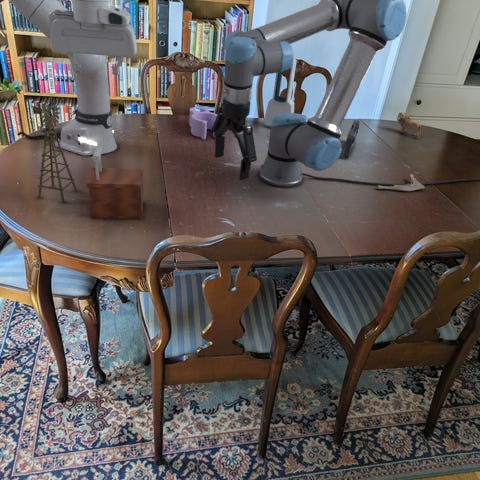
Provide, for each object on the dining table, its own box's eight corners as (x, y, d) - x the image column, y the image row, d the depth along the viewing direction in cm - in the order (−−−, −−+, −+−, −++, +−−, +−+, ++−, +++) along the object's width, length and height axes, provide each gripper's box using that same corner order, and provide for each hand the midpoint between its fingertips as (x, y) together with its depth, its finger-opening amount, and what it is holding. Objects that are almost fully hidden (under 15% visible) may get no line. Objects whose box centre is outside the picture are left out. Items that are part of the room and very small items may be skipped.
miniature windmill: (63, 202, 138) (50, 102, 122) (36, 197, 139) (20, 97, 123) (78, 189, 146) (67, 93, 130) (53, 185, 147) (39, 89, 131)
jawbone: (429, 189, 172) (431, 184, 171) (394, 201, 161) (396, 196, 160) (410, 177, 177) (412, 172, 176) (375, 189, 167) (376, 184, 165)
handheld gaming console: (349, 160, 187) (354, 136, 182) (342, 158, 188) (347, 134, 183) (355, 142, 206) (361, 119, 201) (349, 140, 207) (354, 118, 201)
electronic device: (292, 127, 215) (303, 59, 199) (288, 132, 209) (299, 62, 192) (267, 122, 218) (275, 54, 201) (262, 126, 212) (270, 57, 195)
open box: (91, 218, 133) (88, 187, 128) (96, 201, 142) (93, 171, 136) (141, 218, 135) (140, 188, 130) (143, 202, 144) (142, 173, 138)
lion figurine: (391, 130, 224) (396, 112, 219) (396, 128, 227) (401, 110, 222) (420, 139, 216) (426, 121, 211) (425, 137, 220) (431, 118, 215)
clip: (182, 123, 206) (183, 107, 202) (209, 122, 210) (210, 106, 207) (197, 140, 191) (197, 123, 187) (225, 138, 195) (226, 122, 191)
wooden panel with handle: (86, 187, 128) (84, 158, 123) (92, 171, 136) (89, 143, 131) (140, 188, 130) (139, 160, 125) (142, 173, 138) (141, 145, 134)
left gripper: (43, 10, 107) (51, 72, 115) (133, 18, 109) (135, 78, 117) (51, 7, 113) (58, 66, 120) (137, 14, 115) (138, 72, 122)
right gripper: (201, 84, 131) (199, 150, 145) (251, 122, 116) (244, 192, 130) (223, 80, 134) (219, 145, 148) (275, 116, 119) (265, 185, 133)
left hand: (96, 72), depth 119 cm, fingers open, 8 cm apart
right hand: (231, 167), depth 139 cm, fingers open, 13 cm apart
